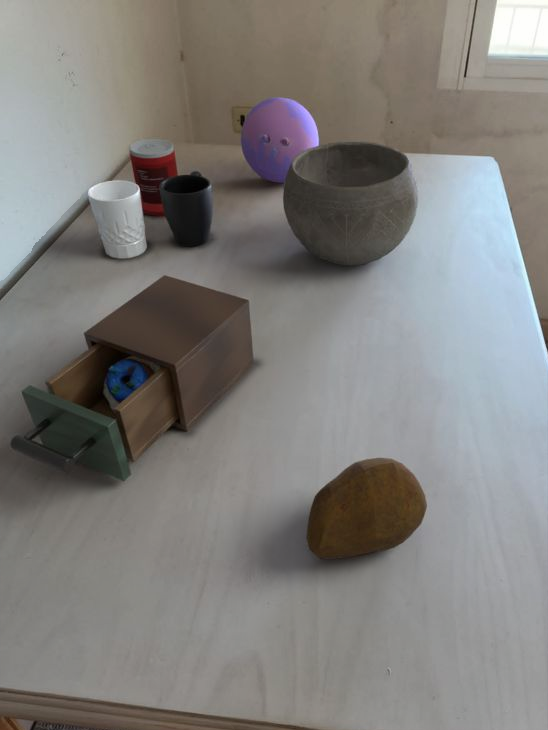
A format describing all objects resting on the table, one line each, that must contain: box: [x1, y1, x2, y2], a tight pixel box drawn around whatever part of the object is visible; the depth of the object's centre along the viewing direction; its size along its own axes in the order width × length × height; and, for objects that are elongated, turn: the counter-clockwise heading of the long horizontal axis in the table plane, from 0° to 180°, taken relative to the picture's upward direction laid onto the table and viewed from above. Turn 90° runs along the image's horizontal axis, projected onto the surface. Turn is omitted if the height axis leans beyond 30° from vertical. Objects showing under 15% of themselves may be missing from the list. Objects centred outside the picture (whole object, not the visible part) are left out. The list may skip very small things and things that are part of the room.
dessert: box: [103, 356, 162, 413], centre depth 70 cm, size 8×7×6 cm
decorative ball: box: [240, 97, 320, 184], centre depth 122 cm, size 15×15×15 cm
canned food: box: [128, 138, 179, 217], centre depth 113 cm, size 8×8×11 cm
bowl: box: [282, 141, 419, 266], centre depth 100 cm, size 21×21×15 cm
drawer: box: [9, 343, 179, 482], centre depth 67 cm, size 18×11×8 cm, turn 153°
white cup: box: [86, 179, 148, 260], centre depth 101 cm, size 8×8×10 cm
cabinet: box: [83, 274, 255, 432], centre depth 76 cm, size 15×13×10 cm
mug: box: [159, 170, 214, 248], centre depth 105 cm, size 8×12×10 cm
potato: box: [306, 457, 428, 560], centre depth 59 cm, size 8×12×9 cm
